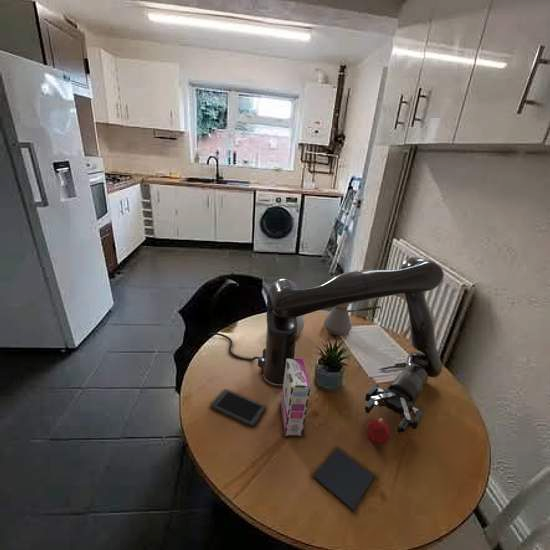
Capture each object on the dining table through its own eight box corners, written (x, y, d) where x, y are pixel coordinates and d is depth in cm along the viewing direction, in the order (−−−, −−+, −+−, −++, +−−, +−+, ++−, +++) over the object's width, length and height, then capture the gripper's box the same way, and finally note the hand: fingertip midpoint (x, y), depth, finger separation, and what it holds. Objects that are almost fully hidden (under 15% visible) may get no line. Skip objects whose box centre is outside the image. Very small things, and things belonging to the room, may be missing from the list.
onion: (387, 455, 77) (395, 431, 74) (364, 449, 78) (370, 426, 75) (384, 435, 83) (391, 413, 80) (362, 430, 84) (368, 408, 80)
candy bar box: (303, 436, 80) (311, 387, 74) (284, 436, 80) (290, 387, 74) (297, 403, 91) (303, 357, 84) (280, 403, 90) (285, 357, 84)
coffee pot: (320, 333, 126) (325, 301, 121) (325, 320, 136) (330, 290, 131) (374, 347, 121) (382, 313, 115) (375, 332, 131) (382, 300, 125)
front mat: (313, 477, 71) (314, 476, 70) (336, 449, 78) (337, 448, 78) (353, 510, 65) (353, 509, 64) (373, 477, 72) (374, 476, 72)
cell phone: (224, 390, 93) (224, 388, 93) (265, 408, 88) (266, 406, 88) (210, 407, 87) (210, 405, 87) (253, 427, 82) (253, 425, 81)
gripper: (385, 366, 93) (360, 394, 82) (434, 391, 85) (414, 426, 73) (380, 386, 96) (355, 415, 85) (427, 412, 88) (406, 448, 76)
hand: (382, 420), depth 79 cm, fingers open, 8 cm apart
